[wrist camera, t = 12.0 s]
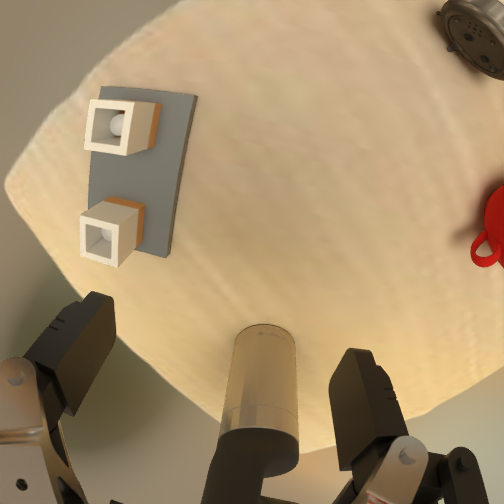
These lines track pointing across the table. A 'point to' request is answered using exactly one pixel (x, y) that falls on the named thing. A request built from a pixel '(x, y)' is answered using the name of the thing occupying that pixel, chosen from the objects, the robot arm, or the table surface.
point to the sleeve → (134, 126)
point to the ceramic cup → (492, 231)
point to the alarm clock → (477, 33)
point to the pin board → (137, 183)
